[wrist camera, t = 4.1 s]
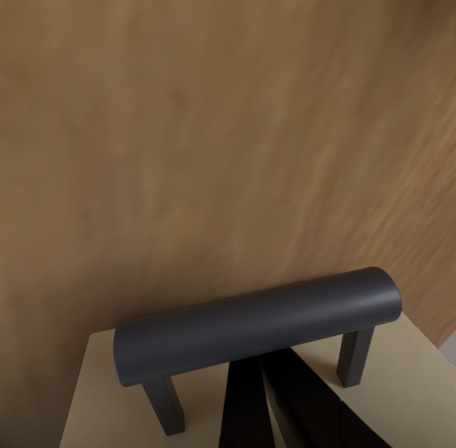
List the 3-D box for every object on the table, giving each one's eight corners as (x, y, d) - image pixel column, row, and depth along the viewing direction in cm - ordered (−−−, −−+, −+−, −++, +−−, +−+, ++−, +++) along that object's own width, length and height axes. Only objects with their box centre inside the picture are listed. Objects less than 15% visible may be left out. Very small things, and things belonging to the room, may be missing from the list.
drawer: (42, 248, 10) (-158, 554, 4) (383, 185, 11) (639, 331, 5) (162, 462, 20) (161, 642, 14) (336, 414, 21) (405, 557, 15)
